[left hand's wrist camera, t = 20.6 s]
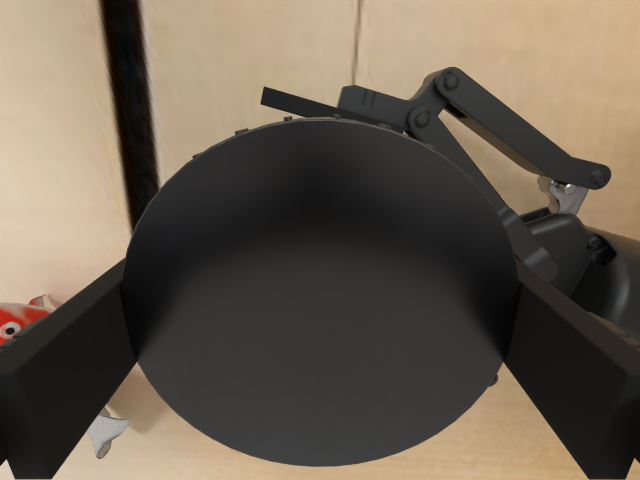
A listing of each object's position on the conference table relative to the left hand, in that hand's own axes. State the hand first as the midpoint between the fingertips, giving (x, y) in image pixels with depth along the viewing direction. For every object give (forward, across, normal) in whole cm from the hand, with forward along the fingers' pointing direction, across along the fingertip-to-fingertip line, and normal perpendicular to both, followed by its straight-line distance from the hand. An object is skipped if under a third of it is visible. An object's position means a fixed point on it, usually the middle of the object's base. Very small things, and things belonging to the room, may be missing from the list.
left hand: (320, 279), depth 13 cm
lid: (-3, 0, 0) cm, 3 cm away
